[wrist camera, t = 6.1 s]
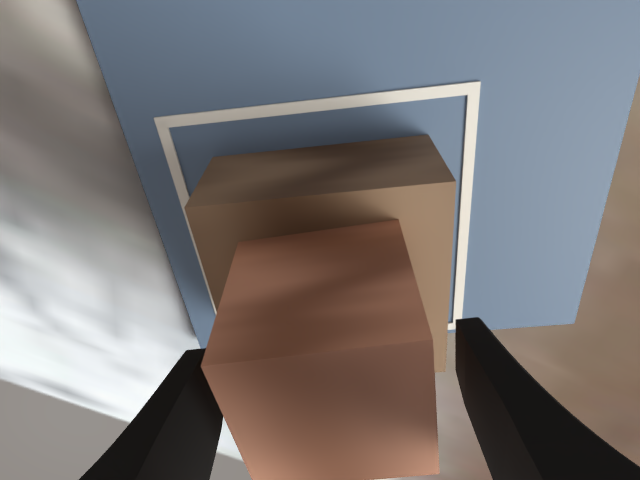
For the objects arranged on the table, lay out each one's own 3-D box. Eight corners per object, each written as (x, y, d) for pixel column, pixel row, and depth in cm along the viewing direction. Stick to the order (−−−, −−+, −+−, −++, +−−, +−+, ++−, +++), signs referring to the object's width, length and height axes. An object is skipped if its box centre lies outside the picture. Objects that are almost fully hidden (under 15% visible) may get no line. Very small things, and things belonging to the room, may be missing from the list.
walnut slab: (428, 134, 16) (456, 181, 13) (425, 303, 20) (445, 371, 17) (212, 156, 17) (184, 207, 13) (253, 316, 21) (239, 385, 17)
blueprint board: (666, -96, 13) (687, -100, 12) (566, 312, 22) (575, 325, 21) (81, -18, 14) (68, -17, 14) (205, 339, 23) (201, 352, 22)
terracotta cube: (398, 219, 13) (432, 339, 9) (408, 337, 16) (439, 474, 12) (238, 242, 14) (200, 366, 10) (273, 353, 16) (256, 489, 12)
